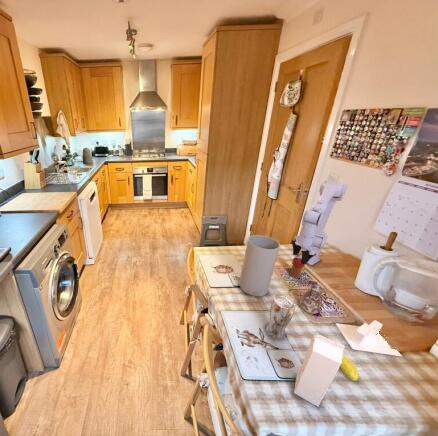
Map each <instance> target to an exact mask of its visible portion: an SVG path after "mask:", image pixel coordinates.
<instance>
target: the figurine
mask: <svg viewBox="0 0 438 436" xmlns="http://www.w3.org/2000/svg"><path fill="white" fill-rule="evenodd" d="M323 291H324V289H323V287H322V286H321V285H320V284H318V281H313V284H312V285H311V286H310V289H309V290H306V291H305V292H304V293H303V295H302V297H301V298H300V300H299V307H300V308H302V310H304V311H305V312H306V313H309V314H312V315H313V314H319V313H320V310H321V308H322V303H323V300H324V299H323V296H322V293H323Z"/></svg>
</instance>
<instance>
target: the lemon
mask: <svg viewBox="0 0 438 436" xmlns="http://www.w3.org/2000/svg"><path fill="white" fill-rule="evenodd" d="M339 369H341V370H342V372H343V373H344V375H345V376H346V377H347V378H348V379H349V380H351V381H354V382H355V381H357V380H358V379H359V371H358V369H357V367H356V366H355V364H354V363H353V362H352V360H351V359H349V358H348V357H347V356H346V355H345V354H343V356H342V362H341V365H340V367H339Z"/></svg>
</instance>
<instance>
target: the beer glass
mask: <svg viewBox="0 0 438 436" xmlns="http://www.w3.org/2000/svg"><path fill="white" fill-rule="evenodd" d="M295 308H296V304H295V302H294V300H292V298H290V297H288V296H286V295H276V296H274V297H273V300H272V302H271V306H270V309H269V310H270V311H269V322H268V324H267V326H266V327H265V330H266V333H267V334H268V336H270V337H271V338H273V339H275V340H282V339H284V337H285V331H286V329H287V327H288V326H289V324H290V322H291V321H292V320H293V317H294V313H295Z"/></svg>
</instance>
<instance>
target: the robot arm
mask: <svg viewBox="0 0 438 436" xmlns="http://www.w3.org/2000/svg"><path fill="white" fill-rule="evenodd" d="M347 189H348V184H346V183H339V182H333V181H329V180H328V181H327V180H324V181H323V182H321V185H320V187H319V190H318V191H319V199H316V200H315V201H314V202H313V203H312V204H311V206H310V208H309V209H308V210H306V211H304V213H303V216H302V222H301V228H300V232H299V235H294V237H293V240H291V244H292V255H293V256H296V258H301V264H305V265H307V264H308V265H310V266H313V265H315V264H317V263H318V262H319V261H321V259H320V256H321V253H322V250H323V249H324V248H325V245H326V243H327V240H328V234H327V233H326V232H325V231H324V230H325V228H326V225H327V223H328V220H329V218H330V215H331V213H332V211H333V209H334V206H335V204H336V203H337V202H339V201H340V202H341V201H342V200H343V199H344V197H345V194H346V192H347ZM300 252H301V253H300ZM299 254H300V255H299Z"/></svg>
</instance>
